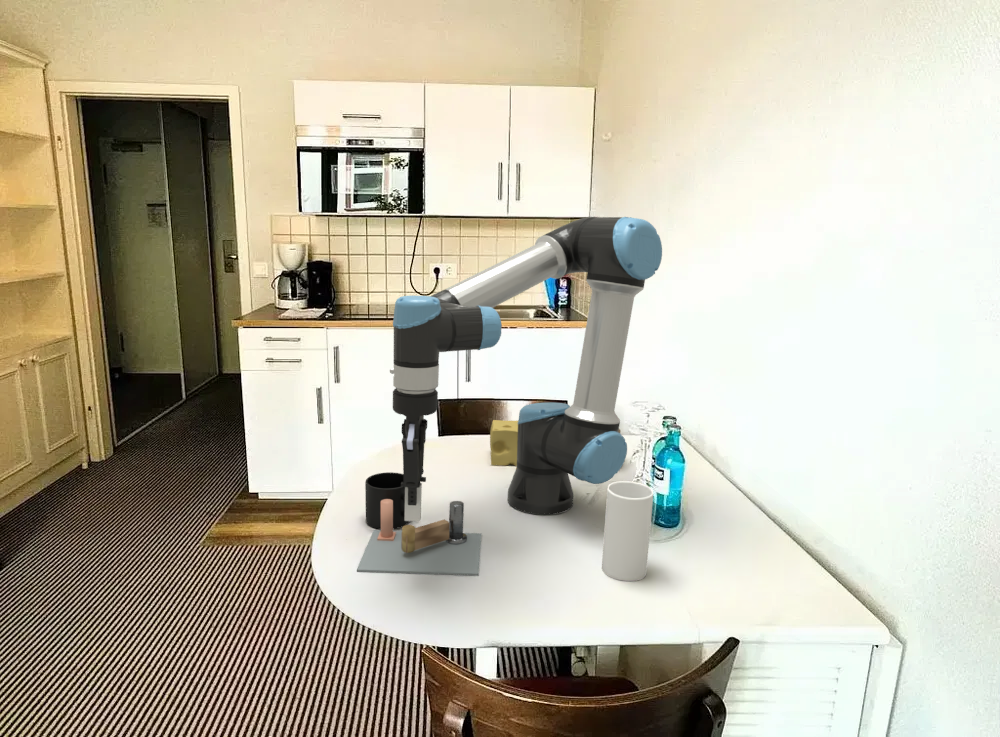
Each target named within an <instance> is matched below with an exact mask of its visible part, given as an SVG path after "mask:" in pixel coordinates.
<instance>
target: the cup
mask: <svg viewBox="0 0 1000 737" xmlns="http://www.w3.org/2000/svg"><path fill="white" fill-rule="evenodd" d="M653 500H654V490H653V489H652V487H650V486H649V485H647V484H644V483H640V482H637V481H630V480H619V481H613V482H611V483H609V484H608V485H607V490H606V504H605V518H604V527H603V528H604V530H603V543H602V556H601V557H602V559H601V570H602V572H603V573H604V574H605V575H606V576H608V577H610V578H612V579H614V580H618V581H622V582H636V581H639V580H642V579H644V578H645V576H646V575H647V569H648V558H649V556H648V555H649V546H650V545H649V544H650V537H651V536H650V535H651V534H650V533H651V523H652V514H653V502H654V501H653Z"/></svg>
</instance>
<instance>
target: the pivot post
mask: <svg viewBox="0 0 1000 737" xmlns="http://www.w3.org/2000/svg"><path fill="white" fill-rule="evenodd" d="M464 508H465V503H464V502H463V501H460V500H453V501H451V502H449V513H448V514H449V516H448V522H449V539H448V540H445V541H446V542H447V543H449V544H454V545H458V544H463V543H465V542H466V541H467V535H466V534H465V533H466V532H464V515H465V514H464V513H465V512H464V511H465V510H464Z"/></svg>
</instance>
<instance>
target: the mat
mask: <svg viewBox="0 0 1000 737" xmlns="http://www.w3.org/2000/svg"><path fill="white" fill-rule="evenodd" d="M380 531H381V529H373V530H372V532H371V535H370V537H369V541H368V542H367V545H366V546H365V549H364V551H363V554H362V557H361V558H360V561H359V564H358V566H357V569H356V572H357V573H358V572H359V573H385V574H386V573H388V574H389V573H391V574H394V573H395V574H415V575H417V574H419V575H445V576H446V575H447V576H469V577H470V576H471V577H472V576H476V577H479V575H480V574H479V573H480V563H481V562H480V561H481V559H480V558H481V549H482V548H481V546H482V533H480V532H479V533H477V532H476V533H475V532H464V533H465V534H466V535H467V541H466V542H465V543H463V544H458V545H454V544H449V543H447V542H446V541H442V542H439V543H436V544H433V545H430V546H427V547H423V548H420V549H417V550H415V551H413V552H411V553H406V552H403V551H402V530H396V529H393V532H396V535H395V538H394V541H379V540H377V538H378V536H379V533H380Z"/></svg>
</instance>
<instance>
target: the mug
mask: <svg viewBox="0 0 1000 737" xmlns="http://www.w3.org/2000/svg"><path fill="white" fill-rule="evenodd" d="M401 482H404V477H403V473H401V472H392V471H391V472H380V473H379V472H378V473H376V474H372V475H370V476H368V477H367V478H366V479H365V482H364V483H365V486H364V489H365V494H364V495H365V497H364V498H365V521H366V524H367V525H368V526H369V527H370V528H374V529H375V530H381V500H383V499H391V500H393V530H396V529H400V528H402V527H403V526H405V525H409V523H410V521H404V520H405V487H401Z"/></svg>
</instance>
